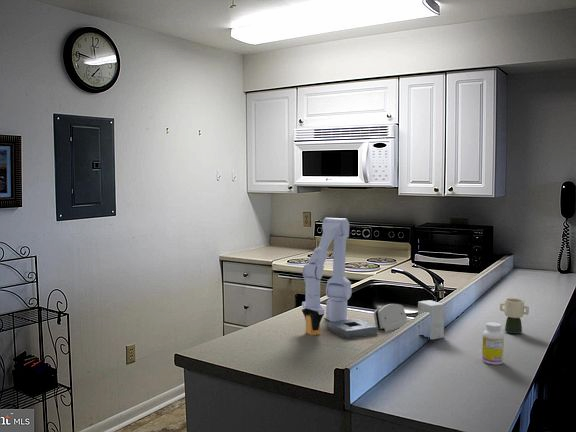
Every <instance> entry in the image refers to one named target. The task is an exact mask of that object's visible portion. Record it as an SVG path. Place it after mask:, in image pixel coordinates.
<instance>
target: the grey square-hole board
mask: <svg viewBox="0 0 576 432" xmlns="http://www.w3.org/2000/svg"><path fill="white" fill-rule="evenodd" d="M327 330H329V332H332V333H334V334H336V335H338V336H340V337H342V338H344V339H346V340H347V339H354V338H355V339H356V338H361V337H366V336H367V337H368V336H373V335H378V329H377V326H376V325H375V324H372V323H370V322H367V321H366V320H362V319H360V318H358V317H356V318H348V319H347V320H340V321H328V322H327Z"/></svg>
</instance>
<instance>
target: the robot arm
mask: <svg viewBox="0 0 576 432" xmlns="http://www.w3.org/2000/svg"><path fill="white" fill-rule="evenodd" d="M321 229H322V235H321V237H320V242H319V243H318V247H315V248H314V249H313V252H312V253H311V256H310V258H309V261H308V263H306V264H304V266H303V267H302V276H303V281H304V283H305V301H302V302H301V307H302V309H301V312H302V314H303V316H304V318H305V319H304V320H306V315H310V317H311V320H312V328H313V330H318V329H319V325H320V324H321V321H322V319H323V317H324V319H325V320H328V321H329V322H332V321H340V320H347V319H349V318H348V300H349V299H351V297H352V293H353V292H352V291H353V290H352V282H351V281H350V280H349V279H348V278H347V277H346V276H345V274H346V272H345V271H346V250H347V238H349V237H350V222H349V220H348V218H346V217H345V218H342V217H341V218H339V217H325V218H324V219H323V221H322V225H321ZM332 241H333V261H332V262H333V263H332V276H331V277H330V278H329V279H328V280H327V283H326V287H325V295H326V297H327V298H328V299H327V301H326V303H325V304H326V305H325V309H324V308H323V307H322V305H321V279H322V278H323V275H324V269H325V266H324V265H325V262H326V260H327V257H328V254H329V253H328V248H329V246H331V245H330V244H331V243H332ZM324 315H325V316H324Z"/></svg>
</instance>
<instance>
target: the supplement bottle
mask: <svg viewBox="0 0 576 432" xmlns="http://www.w3.org/2000/svg"><path fill="white" fill-rule="evenodd" d="M485 327H486V329H485V330H484V331H482V349H481V353H482V355H481V356H482V359H481V360H482V361H483V362H484V363H486V364H489V365H493V366H495V365H502V364H503V363H504V358H505V355H504V352H505V349H504V348H505V333H504V332H503V331H501V329H502V324H501V323H499V322H494V321H493V322H492V321H489V322H486V323H485Z"/></svg>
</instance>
